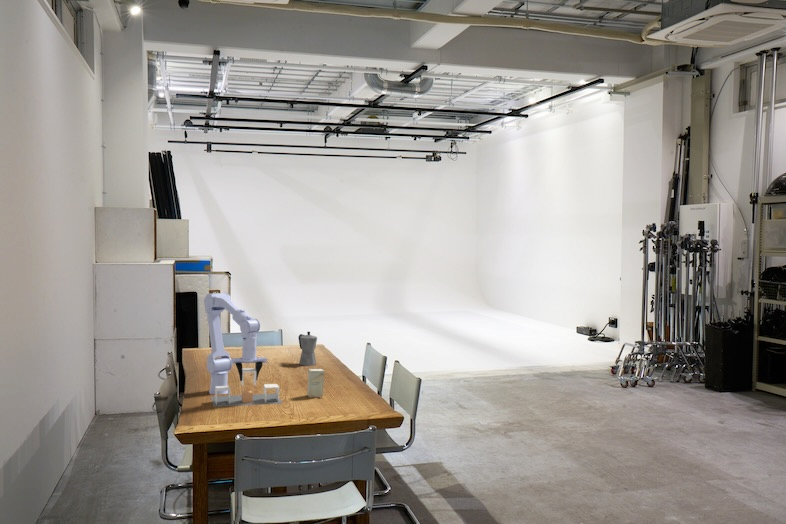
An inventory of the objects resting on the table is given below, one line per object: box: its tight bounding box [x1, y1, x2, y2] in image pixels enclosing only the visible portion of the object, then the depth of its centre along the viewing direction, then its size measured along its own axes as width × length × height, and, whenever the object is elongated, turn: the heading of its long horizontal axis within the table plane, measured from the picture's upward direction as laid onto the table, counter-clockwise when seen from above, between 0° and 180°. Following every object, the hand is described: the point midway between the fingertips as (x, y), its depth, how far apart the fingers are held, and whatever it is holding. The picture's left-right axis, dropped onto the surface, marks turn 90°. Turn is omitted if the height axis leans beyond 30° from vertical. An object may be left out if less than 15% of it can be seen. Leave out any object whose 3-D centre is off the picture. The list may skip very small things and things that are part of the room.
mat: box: [210, 393, 283, 408], centre depth 280 cm, size 17×28×1 cm, turn 109°
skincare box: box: [307, 368, 325, 398], centre depth 291 cm, size 6×4×12 cm
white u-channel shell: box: [240, 367, 257, 387], centre depth 278 cm, size 6×6×6 cm
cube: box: [241, 390, 254, 403], centre depth 277 cm, size 4×4×4 cm
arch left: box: [214, 385, 231, 405], centre depth 274 cm, size 6×6×6 cm
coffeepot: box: [298, 331, 318, 367], centre depth 362 cm, size 15×9×18 cm, turn 44°
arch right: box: [263, 383, 280, 402], centre depth 280 cm, size 6×6×6 cm
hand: (248, 380), depth 278 cm, fingers closed on white u-channel shell, 6 cm apart
